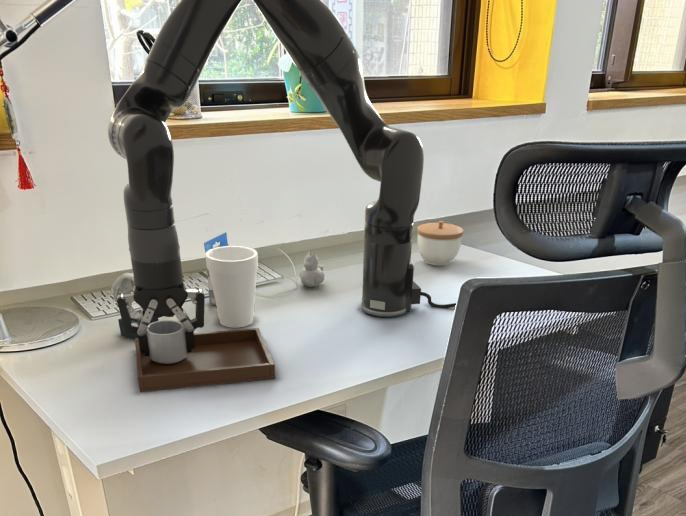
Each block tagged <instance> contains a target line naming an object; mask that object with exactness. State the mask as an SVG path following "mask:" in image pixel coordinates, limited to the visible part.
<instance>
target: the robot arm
mask: <svg viewBox="0 0 686 516" xmlns="http://www.w3.org/2000/svg"><path fill="white" fill-rule="evenodd" d="M242 1H243V0H180V1H179V2H178V3H177V5H176V6H175V8H174V9H173V10H172V12H171V13H170V14H169V16H168V17H167V19H166V20H165V22H164V23H163V25H162V26H161V28H160V30H159V32H158V34H157V36H156V37H155V39H154V42H153V43H152V46H151V48H150V51H149V53H148V55H147V56H146V58H145V61H144V63H143V66H142V69H141V70H140V72H139V74H138V75H137V77H136V78H135V79H134V81H133V82H132V83H131V84H130V86H129V87H128V88H127V90H126V91H125V93H124V94H123V96H122V97H121V98H120V100H119V101H118V103H117V104H116V106H115V108H114V110H113V112H112V114H111V117H110V120H109V123H108V129H107V135H108V136H107V137H108V141H109V144H110V147H111V148H112V149H113V151H114V152H115V153H116V154H117V155H118V156H120V157H121V158H122V159H125V160H126V164H127V174H128V175H127V176H128V183H127V184H126V185H125V186H124V189H123V204H124V211H125V217H126V224H127V239H128V241H127V243H128V251H129V255H130V261H131V268H132V273H133V275H134V282H135V287H134V289H133V293H130V294H126V295H124V294H123V293H118V294H117V302H116V304H117V307H118V310H119V313H120V318H122V321H123V325H124V328H125V331H126V332H127V333H135V334H136V335H137V336H138V341H139V347H140V351H141V353H145V356H149V349H148V342H147V336H146V329H147V327H148V325H149V323H150V321H151V319H152V317H154V318H158V319H159V318H163V317H166V318H174V316H175V317H176V319H177V321H178V322H181V323H182V324H183V326H184V327H185V335H186V344H187V352H188V353H189V352H192V350H191V349H194V348H195V340H194V333H195V330H196V329H199V328H200V329H202V328H204V326H205V303H206V301H205V300H206V299H205V298H206V297H205V293H204V290H203V288H201V287H197V288H196V289H187V287H186V286H185V284H184V277H183V268H182V267H183V266H182V259H181V258H182V257H181V250H180V249H181V247H180V242H179V235H178V231H177V227H176V221H175V213H174V204H173V203H174V202H173V197H172V190H173V189H172V188H173V181H174V166H175V154H174V153H175V151H174V144H173V139H172V136H171V132H170V130H169V128H168V126H167V125H166V122H167V120H168V118H169V117H170V116H171V114H172V113H173V112H174V111H176V110H178V109H180V108H183V107H184V106H185V105H186V103H187V102H188V101H189V99H190V97H191V95H192V93H193V91H194V88H195V87H196V84H197V83H198V80H199V79H200V77H201V75H202V72H203V71H204V68H205V66H206V65H207V62H208V59H209V57H210V56H211V54H212V52H213V50H214V48H215V47H216V44H217V43H218V41H219V39H220V37H221V35H222V33H223V32H224V30H225V28H227V27H226V26H227V25H228V23H229V22H230V20H231V19H232V17H233V15H234V13H235V12H236V10H237V9H238V7H239V6H240V4H241V3H242ZM252 2H253V3H254V5H255V6H256V7H257V9H258V11H259V12H260V14H261V15H262V17H263V18H264V20H265V21H266V24H267V25H268V27H269V28H270V29H271V31H272V32H273V34H274V35H275V37H276V38H277V39H278V41H279V43H280V44H281V46H282V47H283V48H284V50H285V52H286V53H287V55H288V57H289V58H290V59H291V61H292V63H293V64H294V66H295V67H296V68H297V70H298V72H299V74H300V75H301V76H302V78H303V79H304V80H305V82H306V83H307V85H308V86H309V88H310V89H311V90H312V92H313V93H314V94H315V95H316V97H317V98H318V100H319V101H320V103H321V104H322V106H323V108H324V109H325V110H326V111H327V113H328V115H329V116H330V117H331V118H332V120H333V121H334V123H335V124H336V126H337V127H338V128H339V131H340V132H341V134H342V136H343V137H344V139H345V141H346V143H347V144H348V146H349V148H350V151H351V153H352V154H353V156H354V158H355V160H356V162H357V164H358V165H359V167H360V169H361V170H362V172H363V173H364V174H365V175H366V176H368V177H369V178H370V179H372V180H374V181H377V182H380V185H379V194H378V199H377V200H375V201H371V202H369V203H368V204H367V205H366V206H365V210H364V232H363V258H362V259H363V260H362V261H363V263H362V295H361V296H362V297H361V307H360V308H361V310H362V311H363V312H364V313H366V314H367V315H371V316H374V317H379V318H394V317H400V316H403V315H404V314H407V313H411V311H412V305H420V304H421V297H425V298H426V299H427V304H428V305H429V306H430V307H433V308H437V309H449V308H450V309H451V308H456V307H455V305H456V303H457V302H454V303H453V302H452V303H448V304H446V303H445V304H438V303H434V301H432V296H431V295H430V294H428V293H427V292H424V291H422V288H421V287H420V286H419V285H418V284H417V283H416V281H414V271H415V266H414V264H413V263H412V262H411V261H412V248H413V230H414V219H415V218H414V217H415V215H416V212H417V209H418V207H419V204H420V198H421V189H422V181H423V174H424V163H425V160H424V159H425V158H424V157H425V156H424V155H425V154H424V147H423V144H422V142H421V139H420V137H418V136H417V135H416V134H415V133H414V132H411V131H408V130H405V129H401V128H396V127H393V126H390V125H388V124H387V123H386V122H385V120H384V119H383V118H382V117H381V116H380V114H379V113H378V111H377V110H376V108H375V107H374V105H373V104H372V102H371V100H370V98H369V95H368V93H367V90H366V85H365V77H364V69H363V65H362V64H363V63H362V60H361V57H360V54H359V53H358V51H357V49H356V47H355V45H354V43H353V42H352V39H351V38H350V36H349V35H348V33H347V31H346V30H345V28H344V26H343V25H342V23H341V21H340V20H339V19H338V17H337V16H336V14H335V13H334V12H333V11H332V10H331V9H330V8H329V7H328V6H327V5H326V4H325V2H323V0H252ZM188 298H190V301H191V303H192V304H194V305H195V317H193V318H192V319H191V318H190V317H189V314H187V312H186V310H185V309H184V307H183V305H184V304H185V302H186V301H187V299H188ZM133 302H135V303H136V304H137V305H138V306H139V307H140V308H141V310H142V309H143V310H142V313H141V317H140V319H139V322H138V324H136V323H132V320H131V317H130V313H129V310H128V309H130V308H131V307H133V304H132V303H133Z"/></svg>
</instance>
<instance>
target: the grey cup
mask: <svg viewBox="0 0 686 516" xmlns="http://www.w3.org/2000/svg"><path fill="white" fill-rule="evenodd" d="M146 336H147V342H148V349H149V357H150V359H151V360H153V361H155V362H158V363H161V364H173V363H177V362H179V361H181V360H183V359H184V358H186V357H187V355H188V352H187V344H186V335H185V327H184V326H183V324H182V323H181V322H180V321H179V320H174V319H164V320H163V319H162V320H159V321H156V322H153V323H150V324H149V325H148V327H147V329H146Z"/></svg>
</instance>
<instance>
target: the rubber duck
mask: <svg viewBox="0 0 686 516" xmlns="http://www.w3.org/2000/svg"><path fill="white" fill-rule="evenodd" d="M299 278H300V283H301V284H302V285H304V286H305V287H309V288H312V287H316V286H319V285H320V284H322V283H323V282H324V281H325V272H324V265H323V264H320V262H319V257H318V256H317V255H316V253H312V250H311V249H309V251H308V252H306V255H305V257H304V259H303V267H302V268H301V269H300V271H299Z"/></svg>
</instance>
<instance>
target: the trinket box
mask: <svg viewBox="0 0 686 516" xmlns="http://www.w3.org/2000/svg"><path fill="white" fill-rule="evenodd" d="M416 229H417V232H416V233H417V235H416V237H417V238H416V240H417V241H416V244H417V245H416V246H417V250H418V252H419V255H420V257H421V258H422V259H423V260H424V262H425V263H426V264H427V265H432V266H447V265H450V263H451V262H452V261H453V260H454V259H455V258H456V257H457V256H458V254H459V252H460V249H461V246H462V240H463V235H464V229H463V228H462V227H460V226H459V225H456V224H452V223H447V222H446V223H445V222H444V221H443V220H439V221H438V222H428V223H427V222H426V223H423V224H420V225H418V226H417V228H416Z"/></svg>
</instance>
